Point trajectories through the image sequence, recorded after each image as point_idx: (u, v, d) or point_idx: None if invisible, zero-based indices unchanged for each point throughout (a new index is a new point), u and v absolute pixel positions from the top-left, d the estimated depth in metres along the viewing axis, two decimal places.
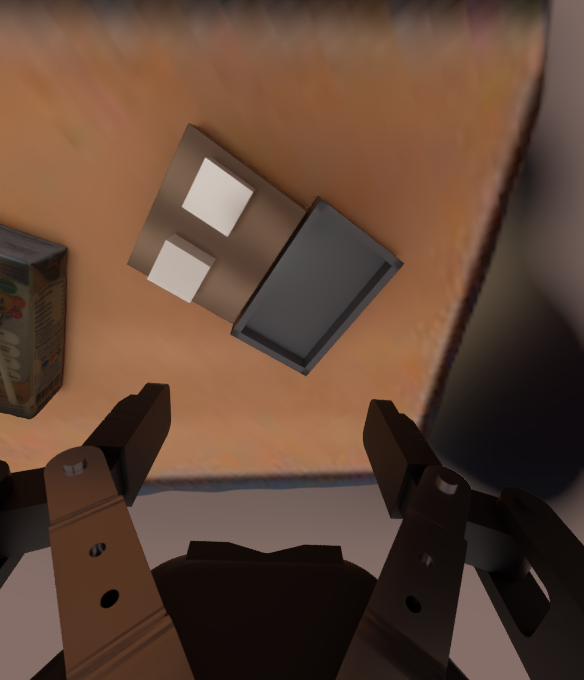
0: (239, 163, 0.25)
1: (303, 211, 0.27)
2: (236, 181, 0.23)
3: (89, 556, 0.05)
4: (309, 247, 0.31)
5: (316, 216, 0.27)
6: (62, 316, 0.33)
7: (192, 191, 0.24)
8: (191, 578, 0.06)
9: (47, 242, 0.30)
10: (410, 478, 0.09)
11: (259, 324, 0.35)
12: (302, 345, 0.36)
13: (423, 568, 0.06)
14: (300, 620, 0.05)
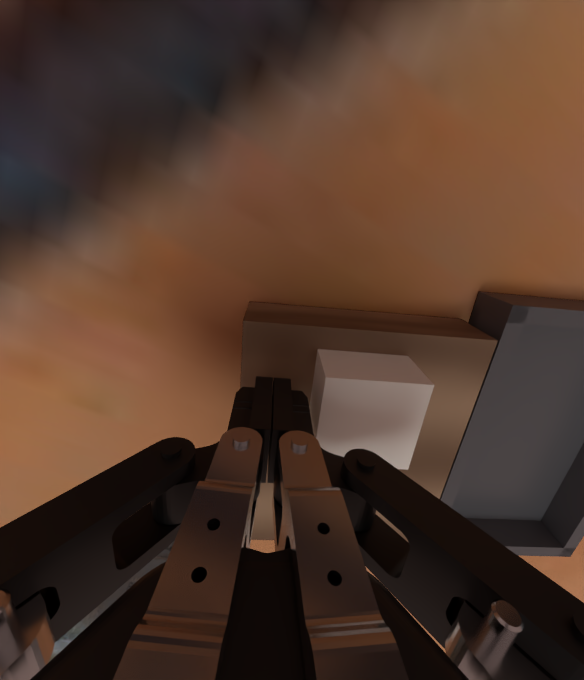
0: (349, 332, 0.13)
1: (491, 343, 0.14)
2: (396, 384, 0.11)
3: (206, 525, 0.06)
4: None
5: (513, 335, 0.14)
6: None
7: (321, 435, 0.12)
8: None
9: None
10: (278, 444, 0.10)
11: None
12: (532, 504, 0.21)
13: (324, 537, 0.06)
14: (300, 620, 0.05)
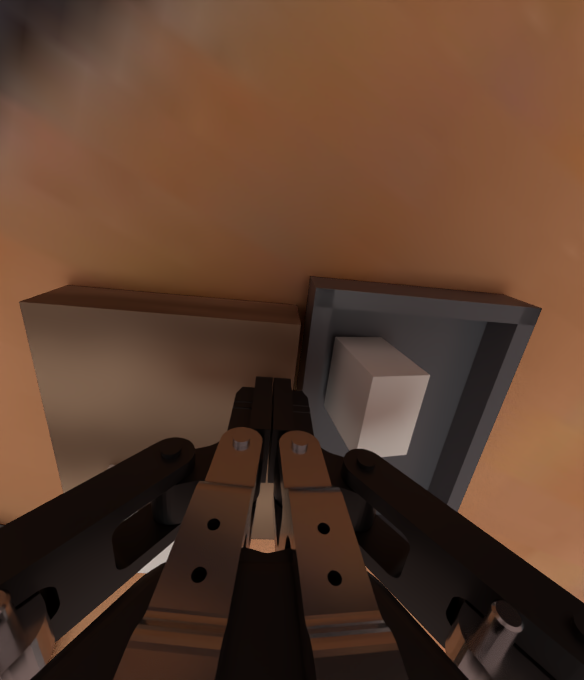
0: (138, 314, 0.12)
1: (295, 327, 0.13)
2: None
3: (207, 525, 0.06)
4: None
5: (323, 319, 0.13)
6: None
7: None
8: None
9: None
10: (278, 444, 0.10)
11: None
12: None
13: (324, 537, 0.06)
14: (300, 620, 0.05)
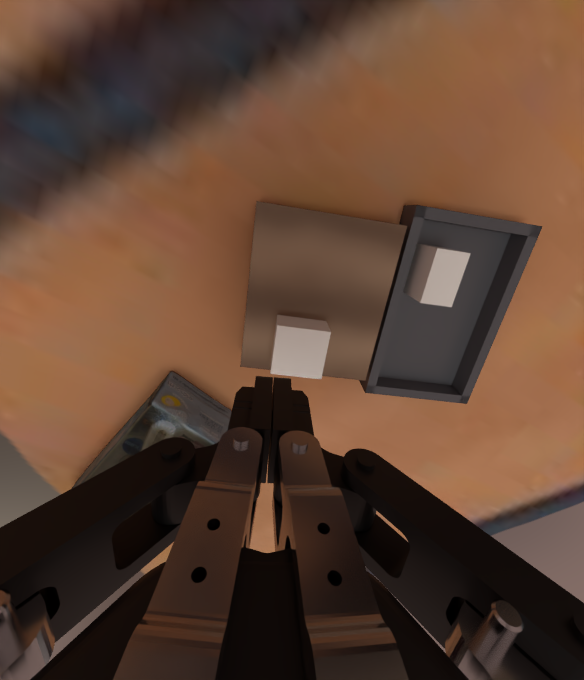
0: (319, 213, 0.22)
1: (403, 227, 0.23)
2: (451, 250, 0.25)
3: (207, 526, 0.06)
4: None
5: (418, 225, 0.23)
6: None
7: None
8: None
9: (219, 405, 0.31)
10: (278, 444, 0.10)
11: (388, 368, 0.30)
12: (444, 370, 0.30)
13: (325, 537, 0.06)
14: (300, 620, 0.05)
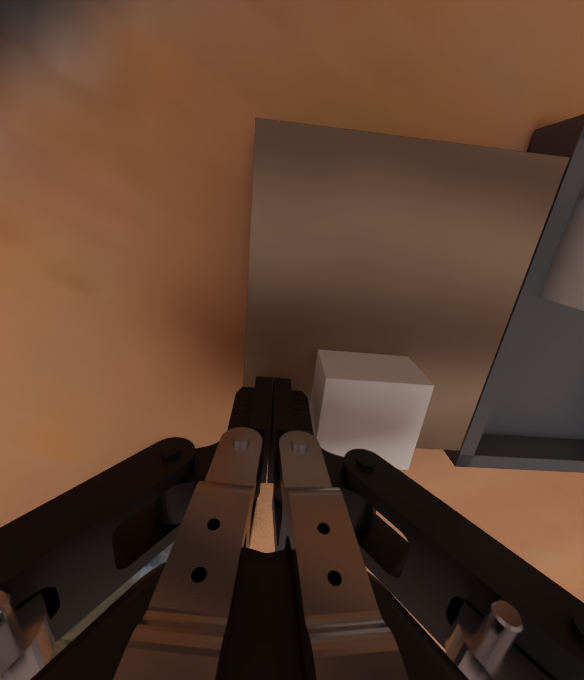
0: (388, 139, 0.11)
1: (561, 161, 0.11)
2: None
3: (206, 526, 0.06)
4: None
5: None
6: None
7: None
8: None
9: None
10: (278, 444, 0.10)
11: None
12: (579, 418, 0.18)
13: (324, 537, 0.06)
14: (300, 620, 0.05)
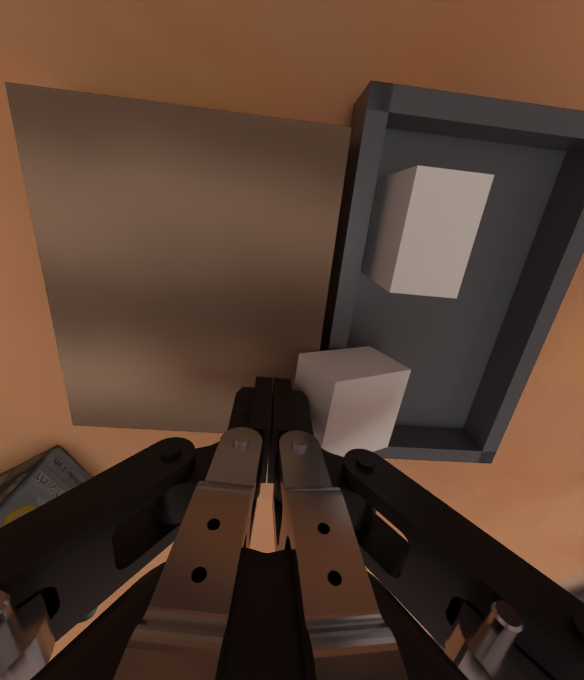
0: (153, 106, 0.10)
1: (344, 131, 0.11)
2: None
3: (207, 525, 0.06)
4: None
5: (377, 130, 0.11)
6: None
7: None
8: None
9: None
10: (278, 444, 0.10)
11: None
12: (450, 406, 0.18)
13: (324, 537, 0.06)
14: (300, 620, 0.05)
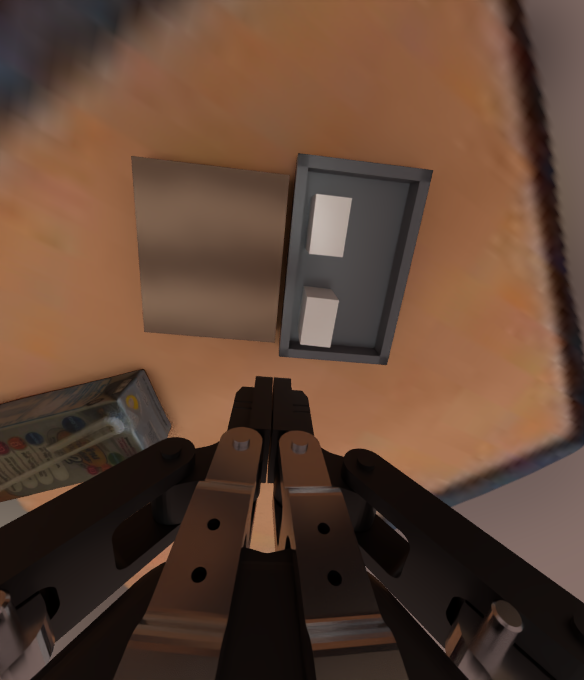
0: (197, 166, 0.22)
1: (286, 176, 0.22)
2: None
3: (206, 526, 0.06)
4: None
5: (303, 175, 0.23)
6: None
7: None
8: None
9: (164, 417, 0.33)
10: (278, 444, 0.10)
11: None
12: (364, 332, 0.30)
13: (324, 536, 0.06)
14: (300, 620, 0.05)
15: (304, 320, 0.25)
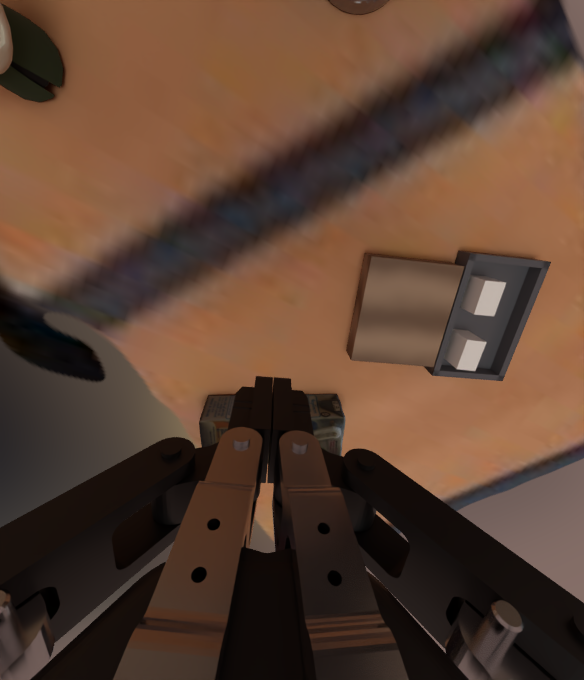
0: (409, 261, 0.35)
1: (462, 267, 0.36)
2: (491, 279, 0.38)
3: (206, 526, 0.06)
4: None
5: (470, 265, 0.36)
6: None
7: None
8: None
9: None
10: (278, 444, 0.10)
11: None
12: (485, 358, 0.43)
13: (324, 537, 0.06)
14: (300, 620, 0.05)
15: (462, 354, 0.38)
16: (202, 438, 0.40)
